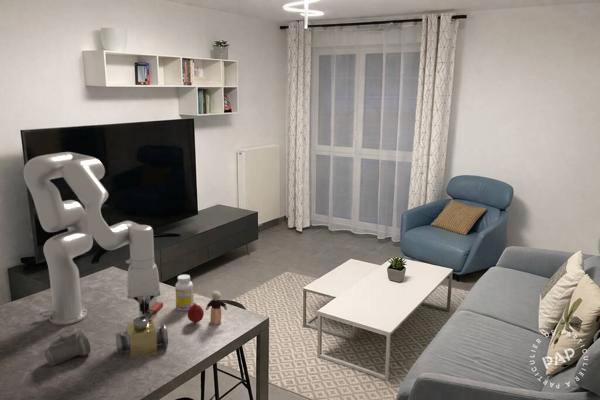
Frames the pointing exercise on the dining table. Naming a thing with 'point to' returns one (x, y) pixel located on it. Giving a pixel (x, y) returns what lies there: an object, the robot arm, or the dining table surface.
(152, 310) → the lever
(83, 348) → the pipe fitting
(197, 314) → the onion
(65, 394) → the dining table surface
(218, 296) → the grandmother figurine
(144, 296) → the skincare box
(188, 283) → the supplement bottle
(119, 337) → the valve
